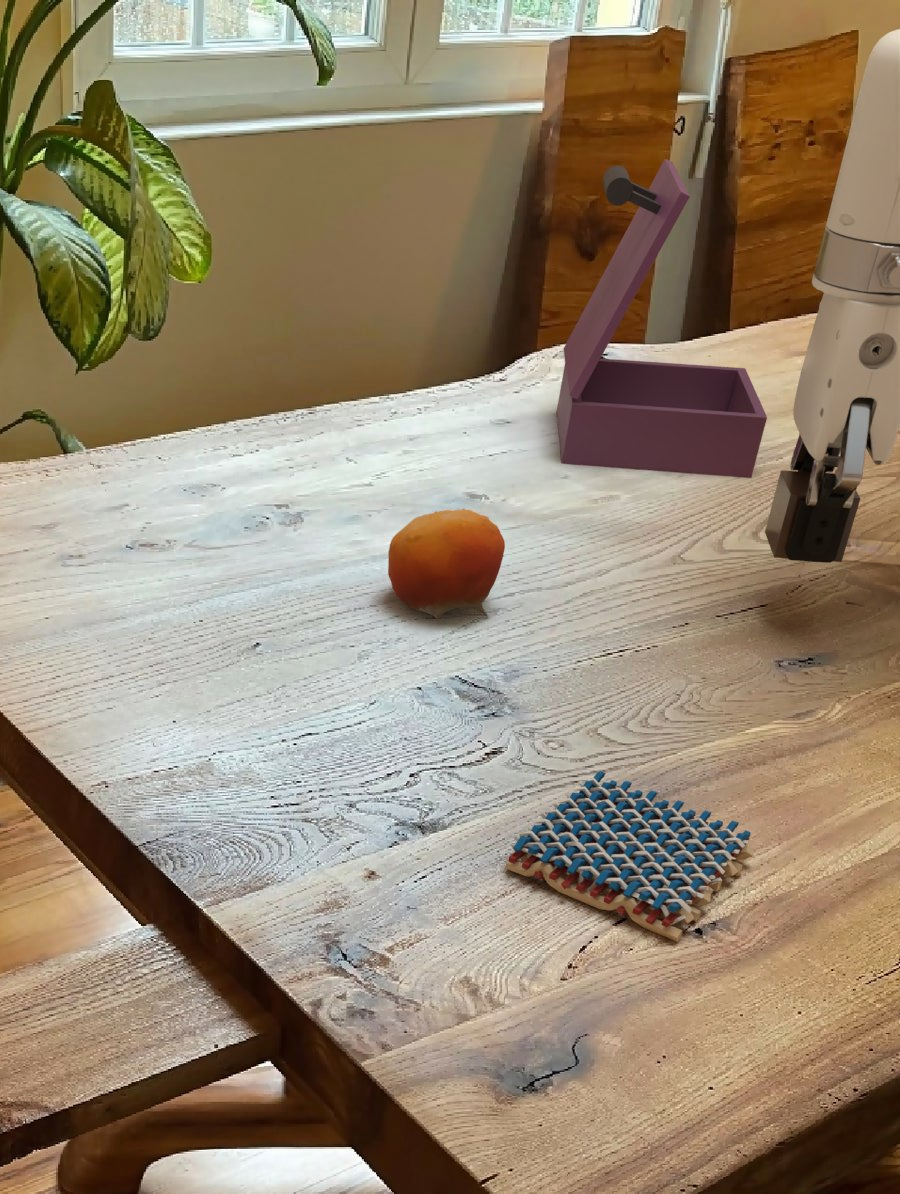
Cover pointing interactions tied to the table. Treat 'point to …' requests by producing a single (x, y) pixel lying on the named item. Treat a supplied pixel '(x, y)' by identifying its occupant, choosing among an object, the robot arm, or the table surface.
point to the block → (785, 509)
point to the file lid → (624, 265)
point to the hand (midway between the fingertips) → (804, 541)
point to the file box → (662, 419)
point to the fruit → (445, 561)
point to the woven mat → (630, 854)
